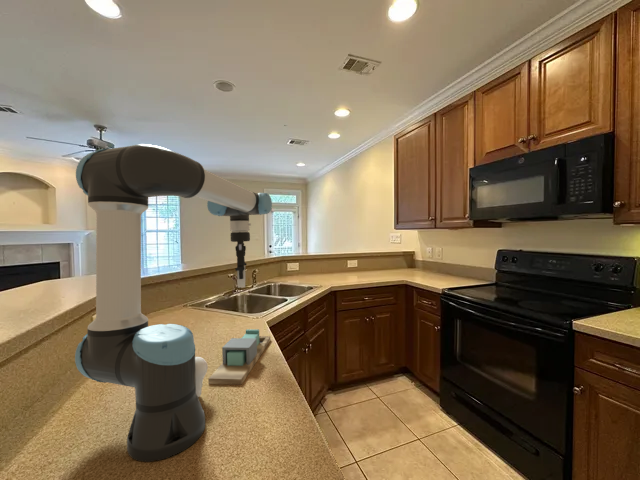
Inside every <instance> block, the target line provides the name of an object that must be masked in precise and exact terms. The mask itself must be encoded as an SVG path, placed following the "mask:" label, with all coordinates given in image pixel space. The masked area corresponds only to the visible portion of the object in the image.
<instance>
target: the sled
mask: <svg viewBox="0 0 640 480" xmlns="http://www.w3.org/2000/svg"><path fill="white" fill-rule="evenodd" d="M259 336H260V329H256V328H255V329H250V328H249V329H247V328H246V330H245V333H244V334H243V335H242V337H241V338H257V346H258V344H259V343H260V339H259ZM245 362H246V350H230V351H229V352H228V353H227V366H243V365H244V363H245Z"/></svg>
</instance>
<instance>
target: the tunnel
mask: <svg viewBox="0 0 640 480" xmlns="http://www.w3.org/2000/svg"><path fill="white" fill-rule="evenodd" d="M221 349H222V363H223V364H226V363H227V353H228V352H229V351H230V350H246V360H247V365H250V364H251V362H252V361H253V359H254V358H255V356H256V355H257V338H242V337H239V338H238V337H232V338H230V339H229V340H228V341H227V342H226V343H225V344H224V345H223V346H222V347H221Z"/></svg>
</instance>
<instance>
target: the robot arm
mask: <svg viewBox="0 0 640 480" xmlns="http://www.w3.org/2000/svg"><path fill="white" fill-rule="evenodd" d="M75 179H76V184H77V185H78V187H79V188H80V189H81V190H82V192H83V193H84V194H85V195H86V196H87V205H88V206H89V207H90V208H91V209H92V210H94V212H95V213H96V229H95V230H96V232H95V233H96V239H95V240H96V241H95V243H96V245H95V246H96V247H95V248H96V253H95V254H96V261H95V262H96V264H95V265H96V268H95V269H96V271H95V274H96V276H95V278H96V282H95V283H96V285H95V288H96V289H95V290H96V292H95V293H96V294H95V296H96V297H95V308H96V309H95V319H94V320H92V322H90V323H89V324H88V325H87V331H86V333H87V334H85V335H84V336H83V337H82V341H80V342H79V343H78V345H77V346H76V349H75V352H74V353H75V355H74V363H75V366H76V368H77V370H78V372H80V374H81V375H82V376H84V377H86V378H88V379H91V380H93V381H96V382H97V383H98V382H99V383H105V384H106V383H109V384H112V385H118V386H119V385H120V386H126V387H130V388H134V390H135V412H134V415H133V418H132V420H131V423H130V427H129V430H128V434H127V437H126V443H127V444H126V447H127V448H126V449H127V450H126V451H127V454H128V455H129V457H131V458H132V459H133V460H135V459H136V461H139V460H140V462H155V461H154V460H157V461H160V460H165V459H168V458H170V456H171V457H173V456H176V455H178V454H180V453H181V451H182V452H184V451H185V450H186V449H188V448H189V447H191V446H192V445H194V444H195V443H196V442H197V441H198V440H199V438H200V437H201V436H202V435H203V433H204V432H205V429H206V415H205V411H204V409H203V406H202V404H201V402H200V400H199V397H198V396H197V394H196V376H195V357H196V344H195V337H194V334H193V332H192V330H191V329H190V328H188V327H186V326H185V325H184V326H183V325H182V324H181V325H180V324H176V323H167V324H164V323H160V324H153V325H149V318H148V316H146V315H145V314H143V313H142V306H141V305H142V285H141V284H142V214H143V213H144V212H146V211H147V210H148V209H149V198H152V197H153V198H154V197H170V196H171V197H172V196H173V197H180V198H184V199H192V198H197V199H201V200H204V201H207V202H206V203H207V205H206V206H207V207H206V208H207V210H208V212H209V213H210V214H211V215H213V216H218V217H229V230H230V242H231V243H235V242H236V243H237V244H236V246H235V257H236V268H235V270H234V271H235V272H237V273H236V274H237V276H236V277H237V288H238V289H239V288H246V280H247V279H246V266H247V262H246V261H245V256H246V251H247V247H246V246H247V245H245V242H250V240H251V234H250V232H249V231H250V226H252V223H251V222H250V216H252V215H253V216H258V215H259V216H262V215H268V214H270V213H271V211H272V209H273V201H272V198H271V196H270V194H269V193H267V192H254V191H251V190H249V189H247V188H245V187H243V186H241V185H238V184H236V183H234V182H232V181H230V180H228V179H226V178H223V177H221V176H219V175H217V174H215V173H212V172H210V171H209V170H206V169H205V168H204V166H203V165H202V163H200V162H199V161H196V160H194V159H193V158H190V157H189V156H186V155H183V154H182V153H179V152H176V151H173V150H170V149H167V148H165V147H162V146H158V145H152V144H145V143H140V144H134V145H133V144H132V145H127V146H120V147H119V146H118V147H115V148H114V147H113V148H112V147H111V148H110V147H109V148H102V149H98V150H95V151H92V152H90V153H87V154H86V155H84V156H83V157H81V159H80V160H79V162H78V164H77V165H76V170H75ZM179 452H180V453H179ZM177 453H178V454H177ZM175 454H176V455H175ZM172 455H173V456H172ZM167 457H168V458H167Z"/></svg>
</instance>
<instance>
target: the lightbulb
mask: <svg viewBox="0 0 640 480" xmlns="http://www.w3.org/2000/svg"><path fill="white" fill-rule="evenodd" d="M208 369H209V368H208V362H207V361H206V360H205V358H203V357H201V356H195V376H196V394H197V396H198V398H199V397H200V396H201V395H202V391H203V389H202V388H203V382H204V379H205V376H206V374H207V372H208Z"/></svg>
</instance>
